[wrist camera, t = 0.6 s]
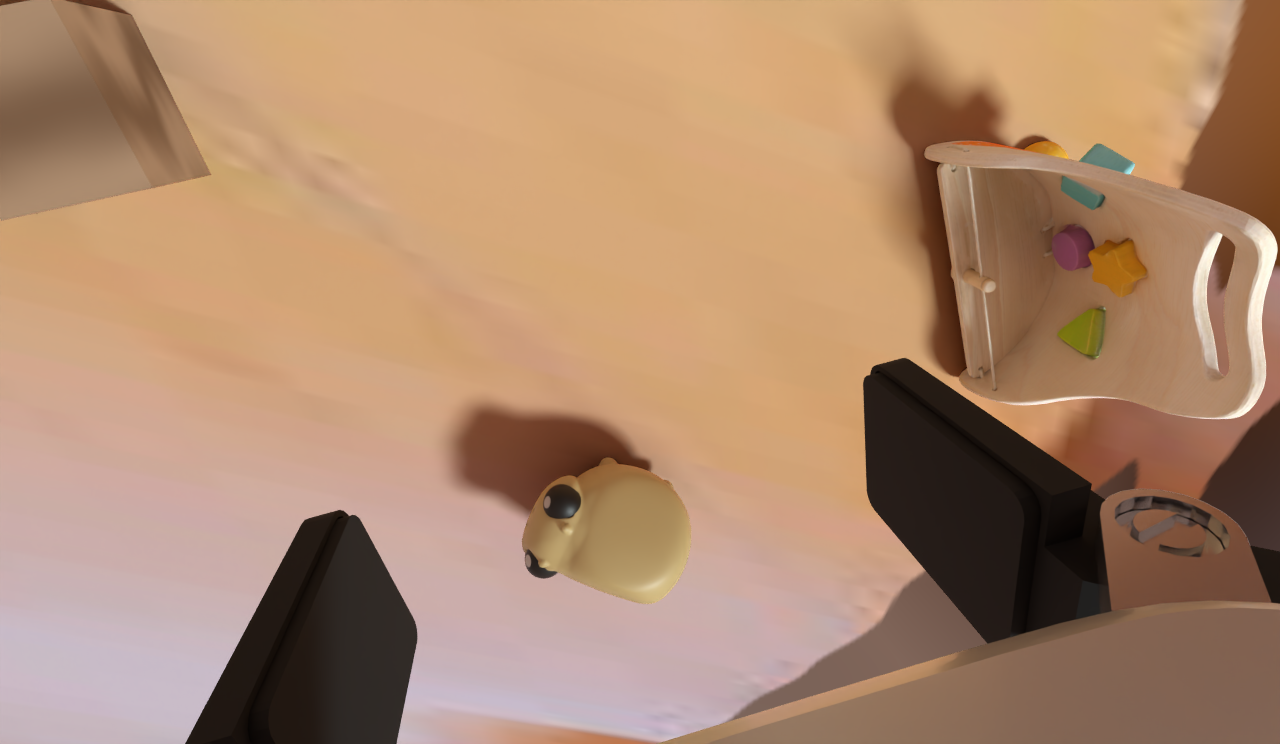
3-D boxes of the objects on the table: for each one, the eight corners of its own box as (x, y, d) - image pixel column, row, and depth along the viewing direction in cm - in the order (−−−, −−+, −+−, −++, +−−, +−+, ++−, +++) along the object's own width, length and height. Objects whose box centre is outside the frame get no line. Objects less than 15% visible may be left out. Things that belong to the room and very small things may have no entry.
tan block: (-9, 43, 30) (-127, 29, 24) (133, 15, 30) (48, -4, 25) (86, 201, 33) (1, 220, 28) (212, 174, 34) (152, 188, 28)
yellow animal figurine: (550, 417, 44) (557, 504, 34) (691, 457, 48) (732, 546, 38) (508, 520, 47) (503, 626, 37) (643, 550, 51) (670, 654, 41)
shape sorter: (1066, 331, 49) (1325, 440, 33) (950, 382, 49) (1153, 515, 33) (1053, 87, 40) (1397, 76, 24) (912, 150, 40) (1163, 181, 24)
